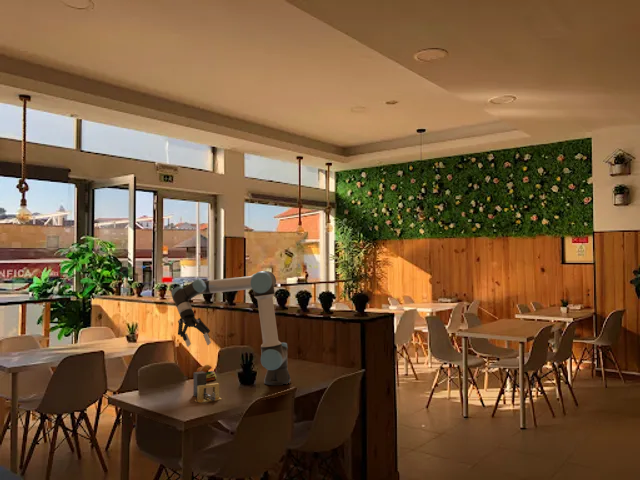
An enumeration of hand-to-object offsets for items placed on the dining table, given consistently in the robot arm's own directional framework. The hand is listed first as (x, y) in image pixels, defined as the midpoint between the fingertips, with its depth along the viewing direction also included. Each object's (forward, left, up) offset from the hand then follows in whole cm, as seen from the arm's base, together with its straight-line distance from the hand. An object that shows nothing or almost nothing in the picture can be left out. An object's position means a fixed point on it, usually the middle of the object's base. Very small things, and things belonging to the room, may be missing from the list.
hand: (199, 344), depth 291 cm
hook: (+3, +15, -25) cm, 30 cm away
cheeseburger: (-15, -26, -26) cm, 40 cm away
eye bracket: (+3, +19, -25) cm, 32 cm away
